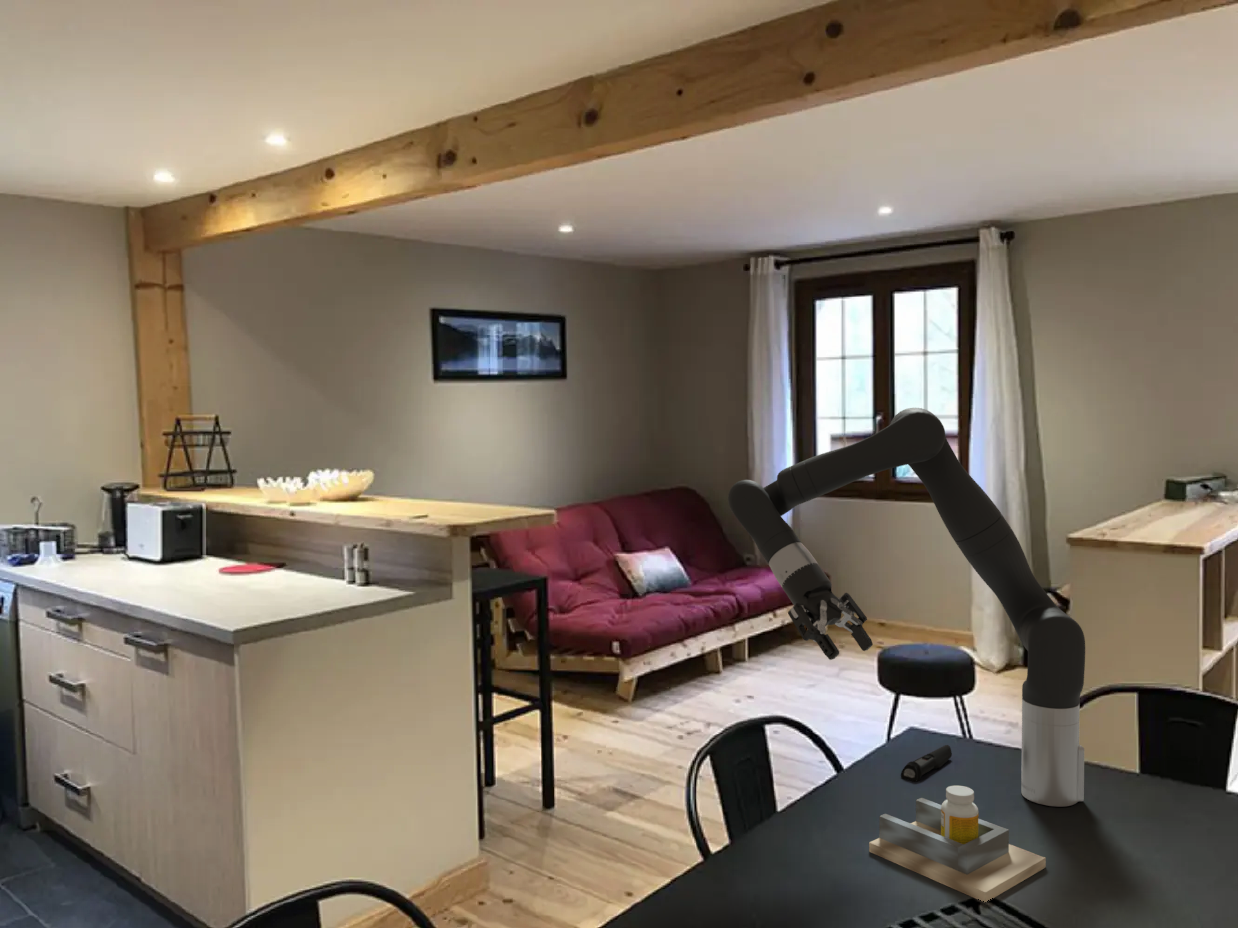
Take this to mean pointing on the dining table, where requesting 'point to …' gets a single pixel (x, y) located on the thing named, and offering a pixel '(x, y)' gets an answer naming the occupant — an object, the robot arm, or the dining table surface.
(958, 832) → the supplement bottle
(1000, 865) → the tray
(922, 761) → the electric trimmer
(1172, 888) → the dining table surface
